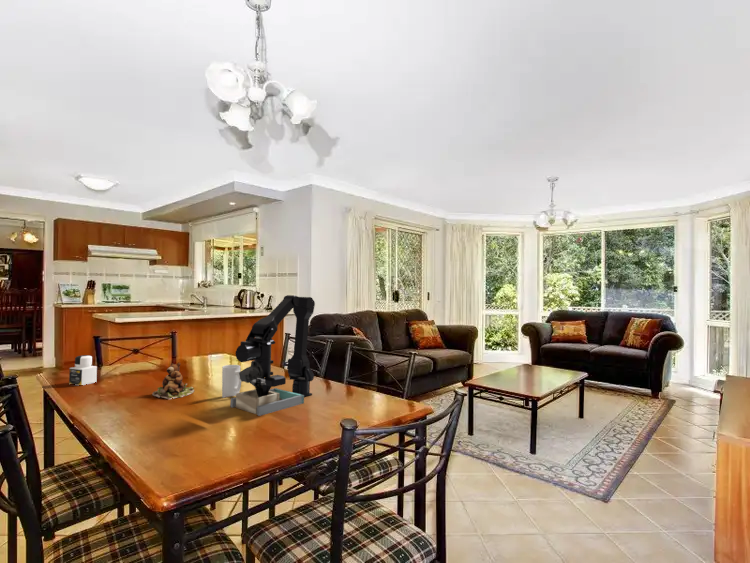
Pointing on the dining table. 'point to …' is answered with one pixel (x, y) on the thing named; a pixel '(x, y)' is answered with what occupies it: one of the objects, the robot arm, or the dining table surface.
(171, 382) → the bear figurine
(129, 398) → the dining table surface
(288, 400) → the bay
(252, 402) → the crate
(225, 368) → the mug
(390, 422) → the dining table surface
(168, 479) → the dining table surface
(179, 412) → the dining table surface
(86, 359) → the medicine bottle
